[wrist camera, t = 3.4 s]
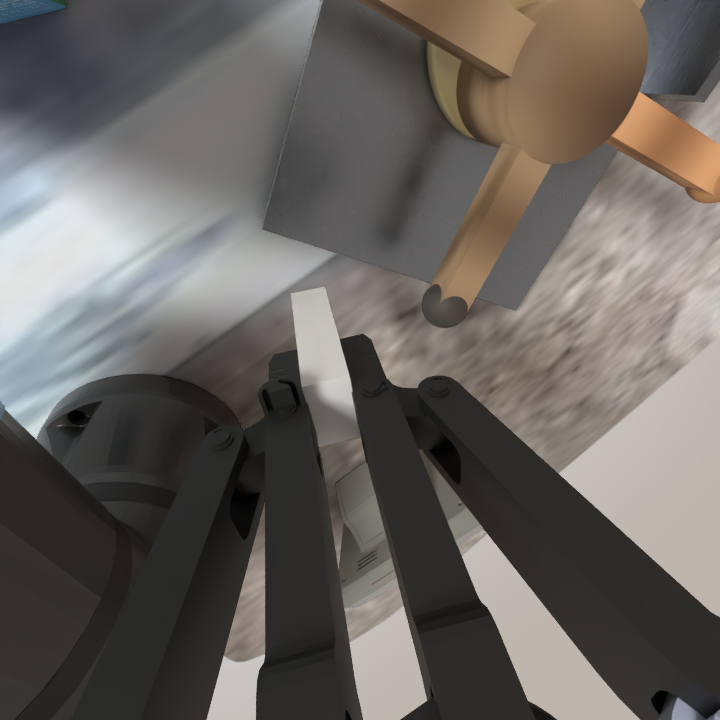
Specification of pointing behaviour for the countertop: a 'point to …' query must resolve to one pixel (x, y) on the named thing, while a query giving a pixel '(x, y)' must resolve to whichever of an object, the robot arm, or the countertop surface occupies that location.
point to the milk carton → (27, 8)
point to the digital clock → (383, 533)
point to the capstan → (540, 112)
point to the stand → (437, 147)
